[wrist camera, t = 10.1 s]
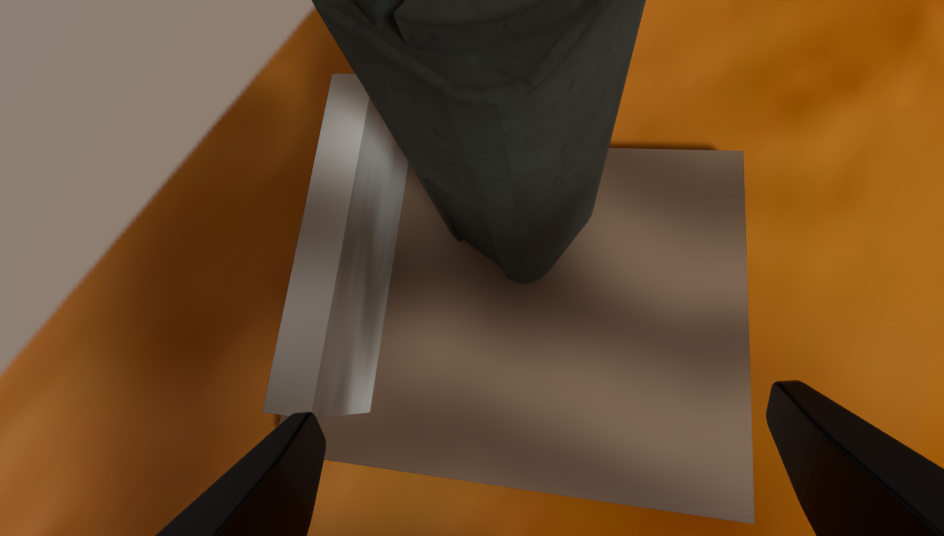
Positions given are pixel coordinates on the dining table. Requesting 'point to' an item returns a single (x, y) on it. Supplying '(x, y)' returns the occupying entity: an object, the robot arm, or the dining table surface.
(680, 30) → the dining table surface
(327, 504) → the dining table surface
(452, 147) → the candle
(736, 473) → the shelf board
